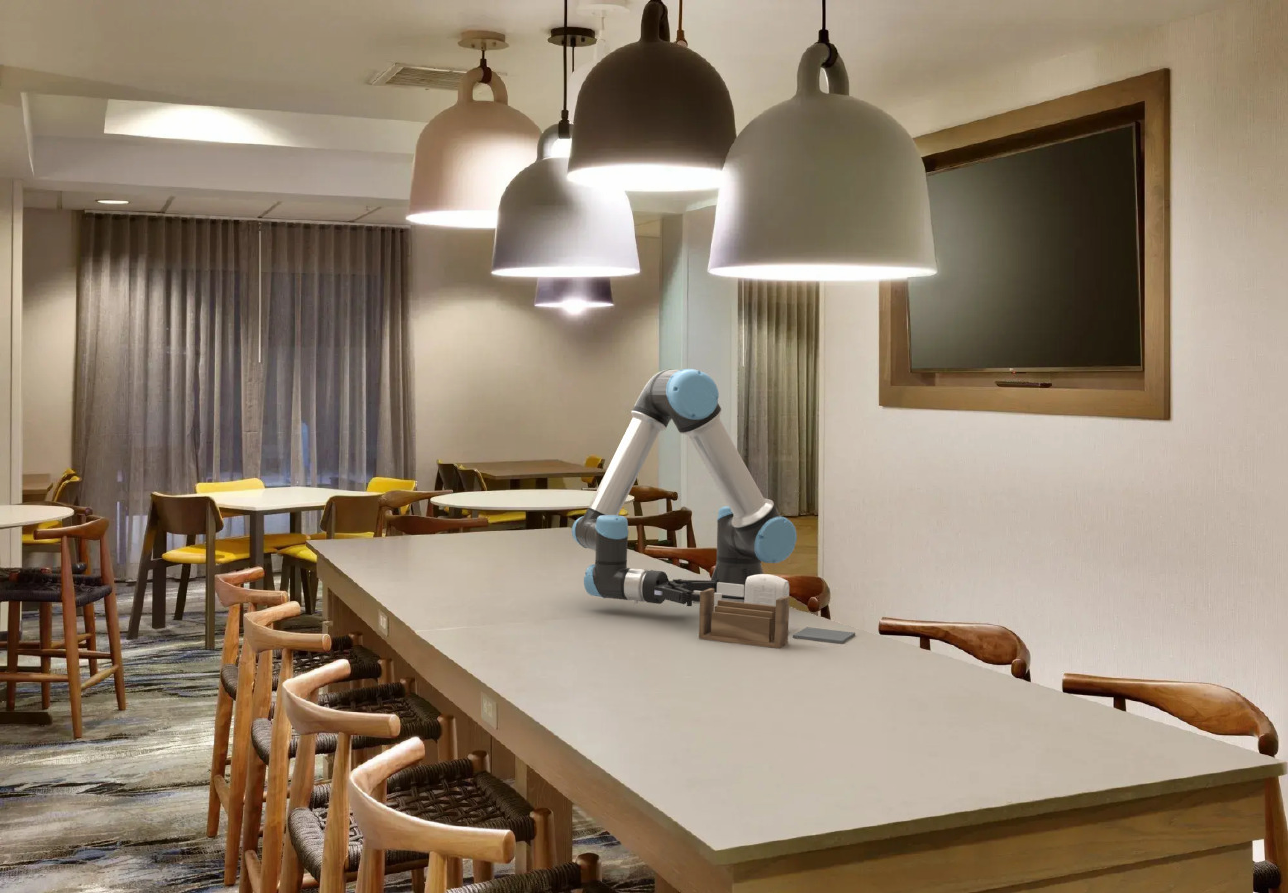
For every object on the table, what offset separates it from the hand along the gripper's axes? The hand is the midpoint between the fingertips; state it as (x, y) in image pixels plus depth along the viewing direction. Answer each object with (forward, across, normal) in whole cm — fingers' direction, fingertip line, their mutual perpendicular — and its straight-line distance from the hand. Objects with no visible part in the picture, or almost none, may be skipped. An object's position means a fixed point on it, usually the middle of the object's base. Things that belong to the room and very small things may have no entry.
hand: (732, 595), depth 269 cm
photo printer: (+8, 0, -7) cm, 11 cm away
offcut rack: (+8, +14, -7) cm, 17 cm away
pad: (+21, -1, -7) cm, 23 cm away
